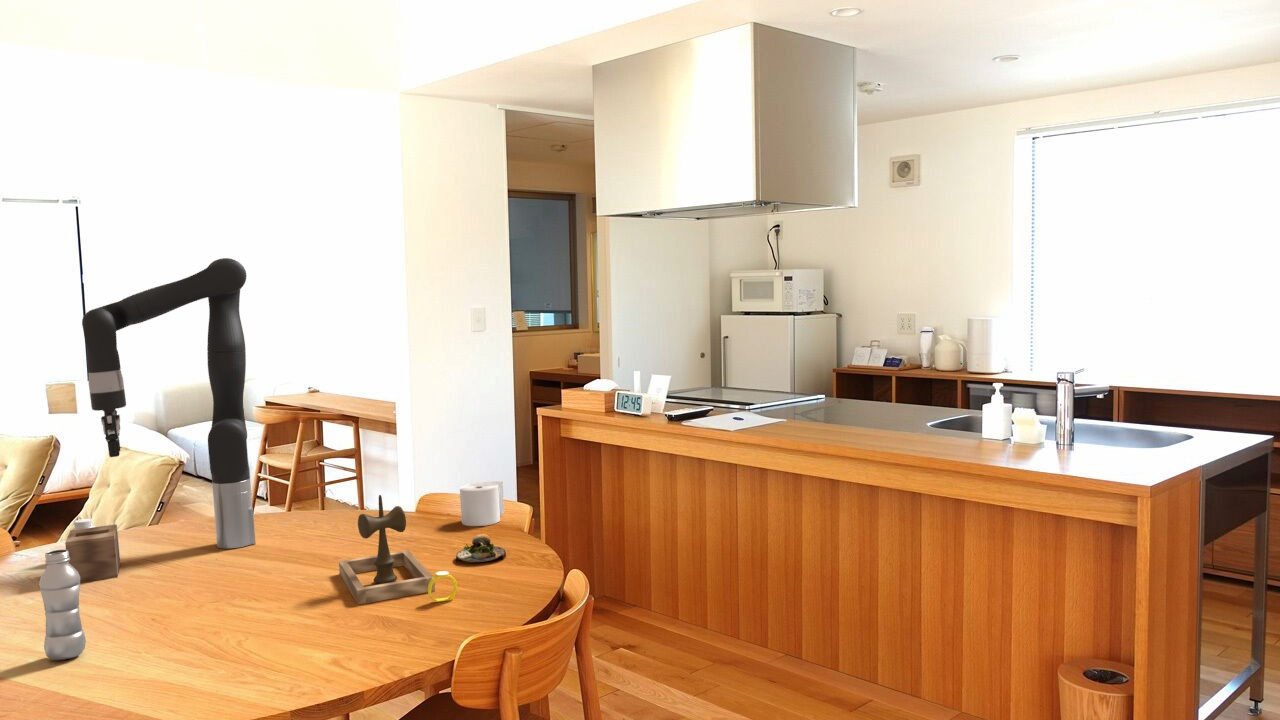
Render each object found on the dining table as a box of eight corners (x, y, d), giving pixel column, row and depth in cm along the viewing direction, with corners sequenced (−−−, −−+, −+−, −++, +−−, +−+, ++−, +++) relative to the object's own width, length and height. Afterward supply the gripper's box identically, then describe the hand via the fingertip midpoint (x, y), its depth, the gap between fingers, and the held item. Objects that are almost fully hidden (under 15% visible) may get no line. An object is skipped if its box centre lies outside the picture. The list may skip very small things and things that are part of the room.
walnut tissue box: (120, 563, 241) (116, 524, 240) (117, 577, 229) (114, 535, 228) (74, 570, 237) (70, 530, 236) (69, 584, 225) (65, 542, 224)
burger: (446, 564, 229) (444, 534, 229) (473, 551, 240) (471, 521, 240) (490, 568, 225) (488, 537, 224) (515, 554, 236) (513, 524, 235)
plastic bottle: (56, 652, 182) (46, 548, 180) (93, 649, 182) (84, 546, 180) (38, 665, 175) (27, 558, 174) (76, 663, 176) (66, 555, 174)
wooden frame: (409, 562, 231) (408, 550, 231) (434, 590, 209) (434, 577, 209) (339, 573, 224) (338, 561, 224) (358, 604, 202) (357, 590, 202)
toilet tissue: (456, 526, 264) (453, 490, 263) (470, 515, 276) (468, 481, 275) (493, 526, 262) (491, 490, 262) (506, 515, 274) (504, 481, 273)
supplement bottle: (101, 559, 246) (97, 520, 245) (76, 564, 242) (72, 524, 241) (96, 555, 250) (93, 516, 249) (72, 559, 246) (68, 520, 246)
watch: (431, 605, 200) (429, 577, 199) (427, 602, 202) (425, 574, 201) (459, 599, 203) (457, 571, 202) (454, 596, 205) (452, 568, 204)
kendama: (411, 580, 217) (405, 493, 216) (370, 590, 211) (365, 500, 210) (399, 574, 222) (394, 489, 220) (359, 584, 216) (353, 496, 214)
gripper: (123, 390, 233) (131, 456, 234) (124, 385, 245) (132, 448, 247) (88, 393, 229) (96, 460, 231) (91, 389, 242) (99, 452, 243)
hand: (115, 454), depth 239 cm, fingers open, 8 cm apart
